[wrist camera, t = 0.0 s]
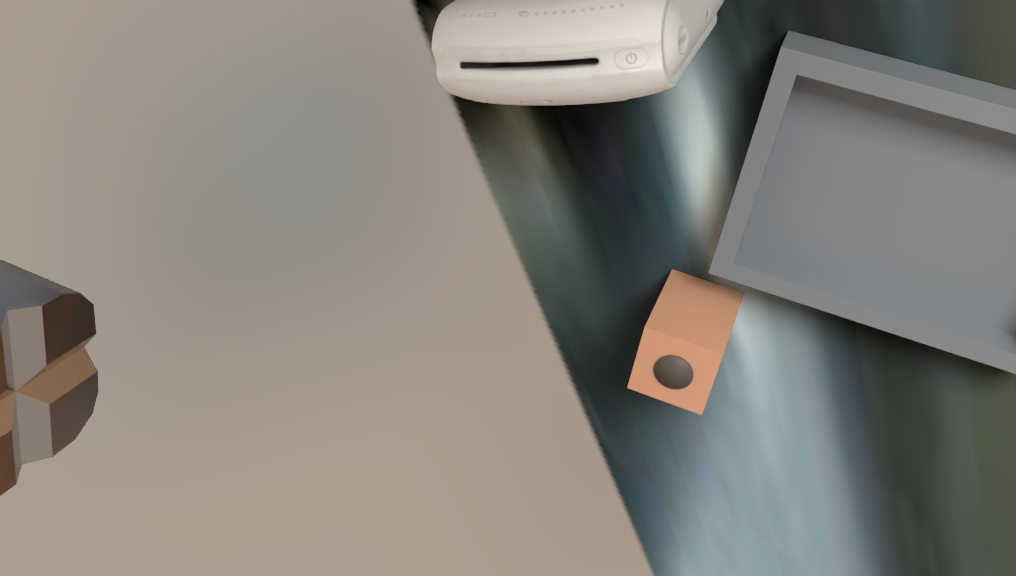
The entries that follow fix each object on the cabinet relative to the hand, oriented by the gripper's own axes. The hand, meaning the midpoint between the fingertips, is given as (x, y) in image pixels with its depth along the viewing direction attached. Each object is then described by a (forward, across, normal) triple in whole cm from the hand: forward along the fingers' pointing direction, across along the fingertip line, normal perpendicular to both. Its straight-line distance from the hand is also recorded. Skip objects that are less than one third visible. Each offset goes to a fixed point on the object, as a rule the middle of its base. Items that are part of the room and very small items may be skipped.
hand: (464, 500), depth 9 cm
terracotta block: (+41, 0, +19) cm, 45 cm away
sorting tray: (+40, -8, +9) cm, 42 cm away
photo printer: (+40, +8, +3) cm, 40 cm away
